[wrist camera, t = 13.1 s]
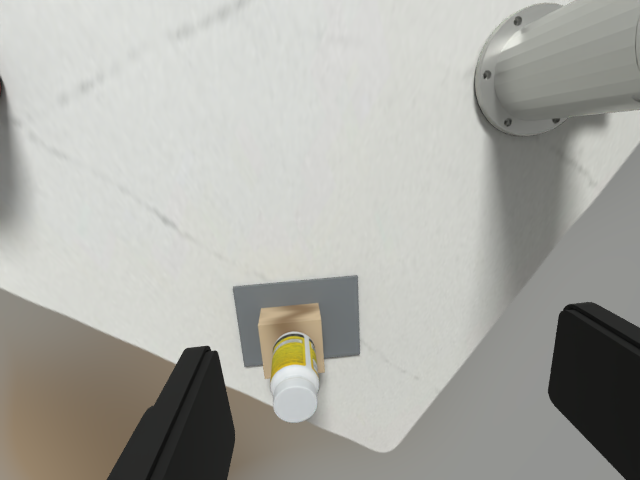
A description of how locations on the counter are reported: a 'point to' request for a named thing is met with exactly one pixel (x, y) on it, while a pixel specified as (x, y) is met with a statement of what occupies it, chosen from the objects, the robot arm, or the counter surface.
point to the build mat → (329, 293)
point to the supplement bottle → (294, 377)
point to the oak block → (289, 330)
